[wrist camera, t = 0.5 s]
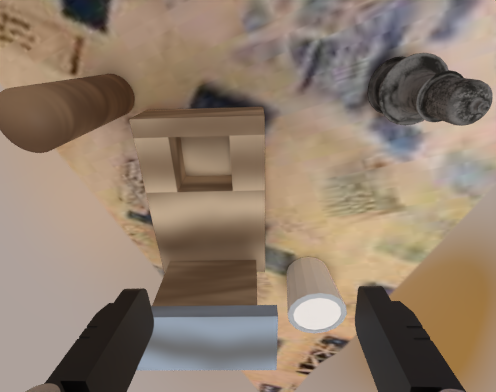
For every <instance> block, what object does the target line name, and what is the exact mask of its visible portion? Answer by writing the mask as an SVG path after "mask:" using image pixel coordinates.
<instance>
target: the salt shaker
mask: <svg viewBox="0 0 496 392" xmlns="http://www.w3.org/2000/svg"><path fill="white" fill-rule="evenodd" d="M368 98H369V102H370V103H371V105H372V107H373V108H374V109H375V110H376V111H378V112H380V113H382V114H384V116H385V117H386V118H387V119H388V120H389V121H391V122H393V123H396V124H400V125H411V124H416V123H418V122H421V121H423V120H426V121H429V122H439V121H445V122H448V123H451V124H454V125H469V124H472V123H474V122H476V121H477V120H479V119H480V118H482V117H483V116H484V115H485V114H486V113H487V111H488V110H489V108H490V106H491V103H492V90H491V88H490V87H489V85H488V84H486V83H484V82H482V81H480V80H474V79H465V78H463V76H462V75H461V74H459V73H457V72H455V71H449V70H448V67H447V65H446V64H445V62H444V61H443V60H442V59H441V58H439V57H437V56H436V55H434V54H428V53H419V54H413V55H411V56H408V57H396V58H393V59H390V60H388V61H386V62H385V63H383V64H382V65H381V66H380V67H379V68H378V69H377V70H376V71H375V72H374V74H373V76H372V78H371V79H370V83H369V86H368Z"/></svg>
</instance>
